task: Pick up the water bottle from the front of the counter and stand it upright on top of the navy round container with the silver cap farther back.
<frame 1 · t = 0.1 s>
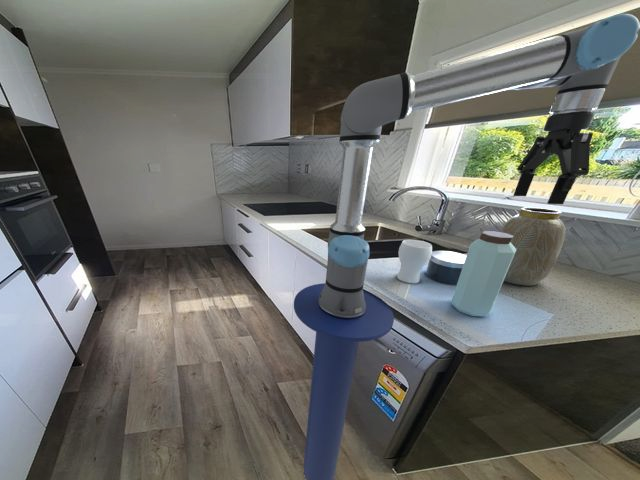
hand: (535, 199, 68), 34 cm above the counter, tool pointing down, fingers open, 13 cm apart
water bottle: (469, 309, 77), on the counter
vase: (511, 278, 96), on the counter
cup: (407, 279, 97), on the counter
navy round container: (444, 277, 98), on the counter
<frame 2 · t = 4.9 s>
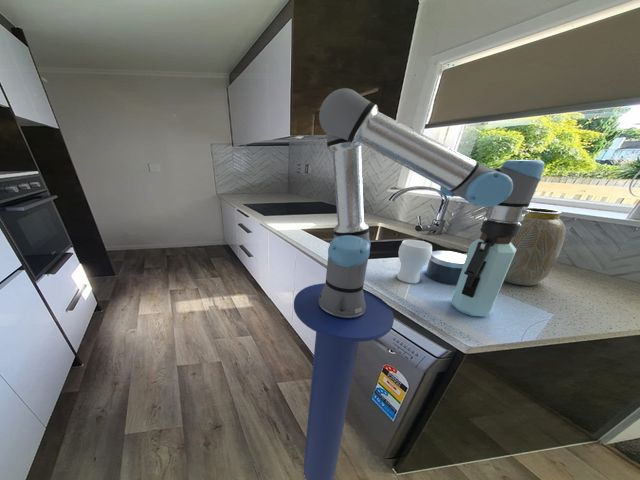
hand: (476, 291, 75), 7 cm above the counter, tool pointing down, fingers closed on water bottle, 10 cm apart
water bottle: (469, 309, 77), on the counter, touching gripper
everything else where it was.
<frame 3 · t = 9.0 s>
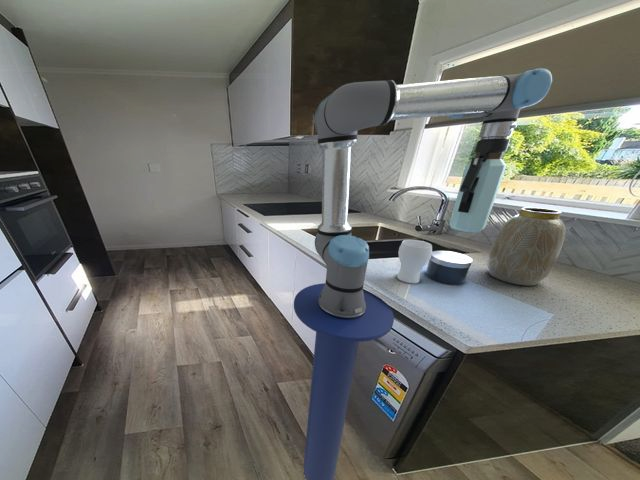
hand: (471, 210, 83), 28 cm above the counter, tool pointing down, fingers closed on water bottle, 10 cm apart
water bottle: (465, 229, 86), point 21 cm above the counter, touching gripper
everything else where it was.
when the fingers open (16 cm above the counter, at t = 13.3 s): water bottle stays where it is, resting on navy round container.
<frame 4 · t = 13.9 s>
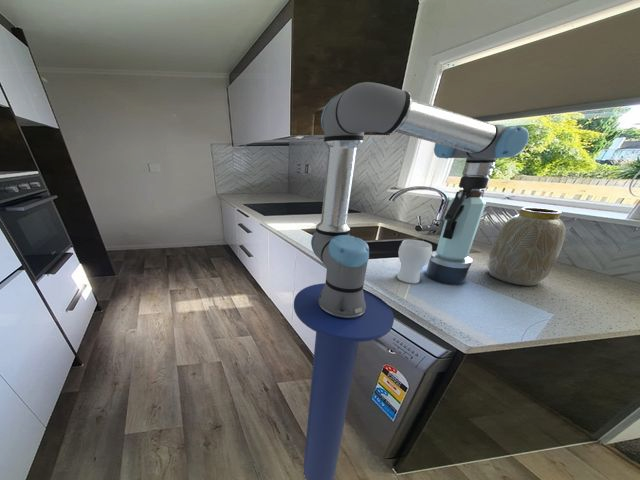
hand: (457, 235, 91), 18 cm above the counter, tool pointing down, fingers open, 13 cm apart
water bottle: (450, 257, 94), point 9 cm above the counter, touching navy round container
everything else where it was.
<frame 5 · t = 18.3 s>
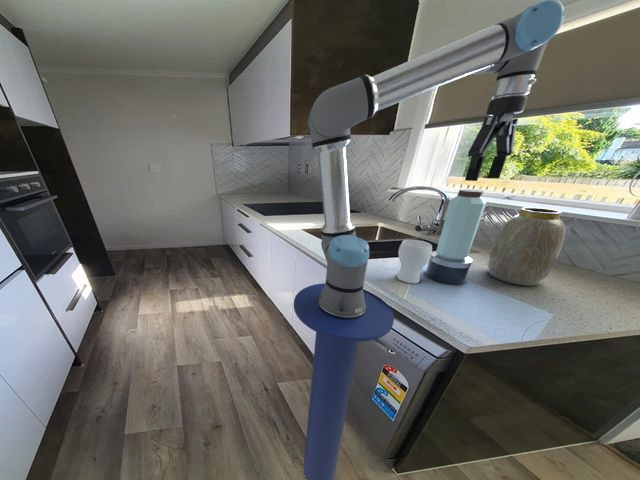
hand: (482, 179, 74), 39 cm above the counter, tool pointing down, fingers open, 13 cm apart
nothing on the counter moved.
at the end: water bottle 0.1 cm off-centre on the navy round container, point 8.8 cm above the navy round container's base; water bottle tilted 0°; the gripper is holding nothing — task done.
